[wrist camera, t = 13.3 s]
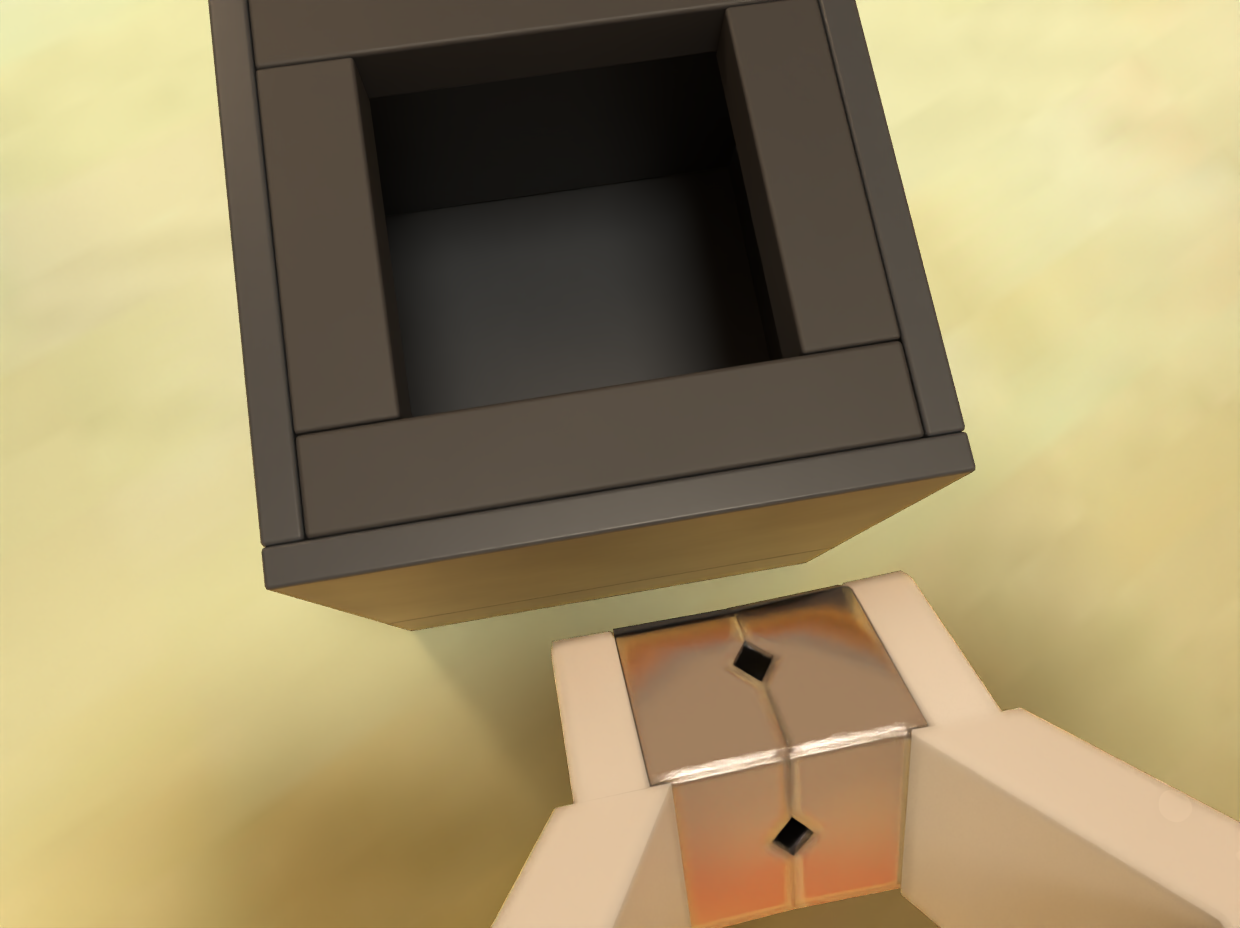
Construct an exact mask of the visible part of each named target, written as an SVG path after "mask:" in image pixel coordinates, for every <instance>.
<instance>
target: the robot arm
mask: <svg viewBox="0 0 1240 928" xmlns="http://www.w3.org/2000/svg"><path fill="white" fill-rule="evenodd" d="M613 636H614V637H613ZM551 656H552V663H553V670H554V676H555V683H556V690H557V696H558V703H559V710H560V716H561V723H562V730H563V736H564V743H565V750H566V756H567V763H568V770H569V776H570V783H571V790H572V796H573V804H569V805H565V806H561V807H556V808H554V810H553V812H552V814H551V815H550V817H549V819H548V821H547V823H546V825H545V827H544V829H543V830H542V832H541V834H540V836H539V838H538V840H537V842H536V844H535V845H534V847H533V849H532V851H531V853H530V855H529V857H528V859H527V860H526V862H525V864H524V866H523V868H522V870H521V872H520V873H519V875H518V877H517V879H516V881H515V883H514V885H513V887H512V888H511V890H510V892H509V894H508V896H507V898H506V900H505V902H504V903H503V905H502V907H501V909H500V911H499V913H498V915H497V917H496V918H495V920H494V922H493V924H492V926H491V928H724V927H727V926H731V925H735V924H739V923H743V922H747V921H751V920H754V919H758V918H762V917H766V916H770V915H774V914H778V913H782V912H785V911H789V910H793V909H798V908H803V907H808V906H813V905H818V904H823V903H828V902H833V901H838V900H843V899H848V898H853V897H858V896H864V895H869V894H874V893H879V892H884V891H889V890H894V889H899V888H901V895H903V896H904V897H905V898H906V899H907V900H908V901H910V902H911V903H912V904H913V905H914V906H915V907H917V908H918V909H919V910H920V911H921V912H922V913H924V914H925V915H926V916H927V917H928V918H929V919H931V920H932V921H933V922H934V923H935V924H936V925H937V926H939V927H940V928H1240V822H1238V821H1237V820H1235V819H1233V818H1231V817H1229V816H1227V815H1225V814H1223V813H1221V812H1219V811H1217V810H1216V809H1214V808H1212V807H1210V806H1208V805H1206V804H1204V803H1202V802H1200V801H1198V800H1196V799H1195V798H1193V797H1191V796H1189V795H1187V794H1185V793H1183V792H1181V791H1179V790H1177V789H1175V788H1173V787H1172V786H1170V785H1168V784H1166V783H1164V782H1162V781H1160V780H1158V779H1156V778H1154V777H1152V776H1151V775H1149V774H1147V773H1145V772H1143V771H1141V770H1139V769H1137V768H1135V767H1133V766H1131V765H1130V764H1128V763H1126V762H1124V761H1122V760H1120V759H1118V758H1116V757H1114V756H1112V755H1110V754H1108V753H1107V752H1105V751H1103V750H1101V749H1099V748H1097V747H1095V746H1093V745H1091V744H1089V743H1087V742H1086V741H1084V740H1082V739H1080V738H1078V737H1076V736H1074V735H1072V734H1070V733H1068V732H1066V731H1065V730H1063V729H1061V728H1059V727H1057V726H1055V725H1053V724H1051V723H1049V722H1047V721H1045V720H1044V719H1042V718H1040V717H1038V716H1036V715H1034V714H1032V713H1030V712H1028V711H1026V710H1024V709H1022V708H1015V709H1010V710H1004V711H1001V709H1000V708H999V706H998V705H997V703H996V702H995V700H994V699H993V697H992V696H991V694H990V693H989V691H988V690H987V688H986V687H985V685H984V684H983V682H982V681H981V679H980V678H979V676H978V675H977V674H976V672H975V671H974V669H973V668H972V666H971V665H970V663H969V662H968V660H967V659H966V657H965V656H964V654H963V653H962V651H961V650H960V648H959V647H958V645H957V644H956V642H955V641H954V639H953V638H952V636H951V635H950V633H949V632H948V631H947V629H946V628H945V626H944V625H943V623H942V622H941V620H940V619H939V617H938V616H937V614H936V613H935V611H934V610H933V608H932V607H931V605H930V604H929V602H928V601H927V599H926V598H925V596H924V595H923V593H922V592H921V591H920V589H919V588H918V586H917V585H916V583H915V582H914V580H913V579H912V577H911V576H909V575H907V574H906V573H904V572H902V571H896V572H891V573H887V574H882V575H878V576H873V577H869V578H864V579H860V580H855V581H851V582H846V583H843V585H842V586H841V585H835V586H831V587H826V588H821V589H816V590H812V591H807V592H802V593H798V594H793V595H788V596H783V597H779V598H774V599H769V600H764V601H760V602H755V603H750V604H746V605H741V606H736V607H731V608H727V609H723V610H717V611H712V612H706V613H701V614H695V615H689V616H684V617H678V618H673V619H667V620H662V621H656V622H650V623H645V624H639V625H634V626H628V627H622V628H617V629H613V634H612V632H611V631H608V632H602V633H597V634H591V635H585V636H579V637H574V638H568V639H562V640H557V641H552V652H551Z"/></svg>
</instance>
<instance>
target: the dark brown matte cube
mask: <svg viewBox="0 0 1240 928" xmlns="http://www.w3.org/2000/svg"><path fill="white" fill-rule="evenodd" d="M208 3H209V14H210V24H211V34H212V45H213V55H214V65H215V76H216V86H217V96H218V106H219V117H220V127H221V137H222V148H223V158H224V168H225V179H226V189H227V199H228V210H229V220H230V230H231V241H232V251H233V261H234V271H235V282H236V292H237V302H238V313H239V323H240V333H241V344H242V354H243V364H244V375H245V385H246V395H247V406H248V416H249V426H250V436H251V447H252V457H253V467H254V478H255V488H256V498H257V509H258V519H259V529H260V540H261V544H262V545H263V546H264V547H265V548H263V549H262V562H263V572H264V583H265V587H266V589H267V590H270V591H274V592H277V593H281V594H284V595H288V596H291V597H295V598H298V599H302V600H305V601H309V602H312V603H316V604H319V605H323V606H326V607H330V608H333V609H337V610H340V611H344V612H347V613H351V614H354V615H358V616H361V617H365V618H368V619H372V620H375V621H379V622H382V623H386V624H389V625H392V626H396V627H399V628H403V629H406V630H410V631H414V630H420V629H426V628H432V627H437V626H443V625H449V624H455V623H461V622H466V621H472V620H478V619H484V618H490V617H495V616H501V615H507V614H513V613H519V612H524V611H530V610H536V609H542V608H547V607H553V606H559V605H565V604H571V603H576V602H582V601H588V600H594V599H600V598H605V597H611V596H617V595H623V594H628V593H634V592H640V591H646V590H652V589H657V588H663V587H669V586H675V585H681V584H686V583H692V582H698V581H704V580H710V579H715V578H721V577H727V576H733V575H738V574H744V573H750V572H756V571H762V570H767V569H773V568H779V567H785V566H791V565H796V564H802V563H806V562H808V561H810V560H812V559H814V558H816V557H817V556H819V555H821V554H823V553H825V552H827V551H828V550H830V549H832V548H834V547H836V546H837V545H839V544H841V543H843V542H845V541H847V540H848V539H850V538H852V537H854V536H856V535H858V534H859V533H861V532H863V531H865V530H867V529H869V528H870V527H872V526H874V525H876V524H878V523H880V522H881V521H883V520H885V519H887V518H889V517H891V516H893V515H894V514H896V513H898V512H900V511H902V510H904V509H905V508H907V507H909V506H911V505H913V504H915V503H916V502H918V501H920V500H922V499H924V498H926V497H927V496H929V495H931V494H933V493H935V492H937V491H938V490H940V489H942V488H944V487H946V486H948V485H950V484H951V483H953V482H955V481H957V480H959V479H961V478H962V477H964V476H966V475H968V474H970V473H972V472H973V471H975V463H974V459H973V455H972V452H971V448H970V444H969V440H968V436H967V434H966V433H965V432H962V431H963V430H964V428H965V425H964V421H963V417H962V413H961V410H960V406H959V402H958V398H957V394H956V390H955V386H954V382H953V378H952V375H951V371H950V367H949V363H948V359H947V355H946V351H945V347H944V343H943V340H942V336H941V332H940V328H939V324H938V320H937V316H936V312H935V309H934V305H933V301H932V297H931V293H930V289H929V285H928V281H927V277H926V274H925V270H924V266H923V262H922V258H921V254H920V250H919V246H918V242H917V239H916V235H915V231H914V227H913V223H912V219H911V215H910V211H909V207H908V204H907V200H906V196H905V192H904V188H903V184H902V180H901V176H900V172H899V169H898V165H897V161H896V157H895V153H894V149H893V145H892V141H891V137H890V134H889V130H888V126H887V122H886V118H885V114H884V110H883V106H882V103H881V99H880V95H879V91H878V87H877V83H876V79H875V75H874V71H873V68H872V64H871V60H870V56H869V52H868V48H867V44H866V40H865V36H864V33H863V29H862V25H861V21H860V17H859V13H858V9H857V5H856V1H855V0H208Z"/></svg>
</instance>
